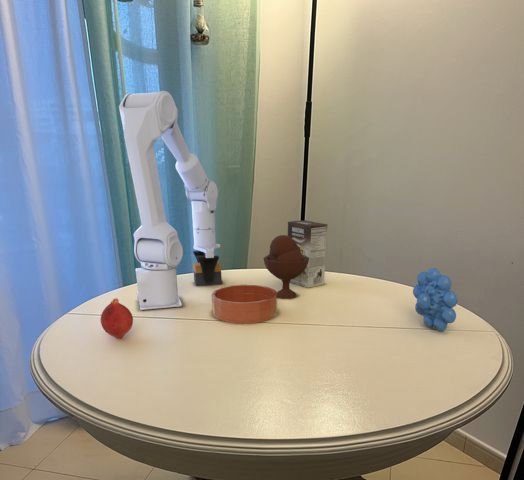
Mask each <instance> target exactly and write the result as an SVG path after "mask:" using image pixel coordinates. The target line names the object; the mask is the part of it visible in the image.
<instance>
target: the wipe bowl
mask: <svg viewBox="0 0 524 480" xmlns="http://www.w3.org/2000/svg"><path fill="white" fill-rule="evenodd" d="M277 292H278V291H276V290H275V289H274V288H272V287H269V286H265V285H264V286H263V285H258V284H234V285H228V286H223V287H220V288H219V287H218V288H217V289H215V290H213V291H212V293H211V307H212V309H211V310H212V315H213V317H214V318H215V319H217V320H218V321H221V322H226V323H230V324H242V325H243V324H256V323H262V322H266V321H269V320H271V319H273V318H275V317H276V316H277V314H278V298H277Z"/></svg>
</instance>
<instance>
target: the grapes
mask: <svg viewBox="0 0 524 480" xmlns="http://www.w3.org/2000/svg"><path fill="white" fill-rule="evenodd" d="M416 281H417V284H415V285H414V287H413V288H412V294H413V297H414V298H415V299H416V303H415V305H414V309H415V312H416V313H417V314H418V315H420V316H422V321H423V324H424V325H425V326H426V327H427V328H435V330H436V331H439V332H444V331H446V329H447V328H448V326H449V324H453V323H454V322H455V321H456V318H457V312H456V311H455V309H454V308H455V307H456V306H457V305H458V301H459V298H458V294H456V292H455V291H452V290H451V289H452V286H453V285H452V284H453V283H452V279H451V278H450V277H449V276H448V275H446V274H441V271H439V269H438V268H436V267H430V268H429V269H428V270H427V271H420V272H419V273H418V274H417V278H416Z"/></svg>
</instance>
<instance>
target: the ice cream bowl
mask: <svg viewBox="0 0 524 480" xmlns="http://www.w3.org/2000/svg"><path fill="white" fill-rule="evenodd" d="M308 262H309V257H307V256H305V255H302V254H301V250H300V248H299V246H298V245H297V244H296V242H295V241H294V240H293V239H292V238H291V237H290V236H288V234H280V235H277V236H275V237H274V238H273V239H272V240H271V242H270V245H269V252H268V255H266V256H264V257H263V263H264V266H265V268H266V270H267V271H268V272H269V273H270V274H271V275H273V277H275V278H277V279H278V280H281V282H282V285H281V286H282V287H281V289H279V290H278V291H276V292H277V299H282V300H283V299H284V300H286V299H288V300H289V299H295V298H296V297H297V296H298V295H297V292H295V291H293V290H292V289H291V288H290V283H291V282H290V280H291V279H294V278H296V277H297V276H299V275H300V274H301V273H302V272H303V271H304V270H305V269H306V267H307V265H308Z"/></svg>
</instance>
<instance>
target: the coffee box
mask: <svg viewBox="0 0 524 480" xmlns="http://www.w3.org/2000/svg"><path fill="white" fill-rule="evenodd" d="M328 227H329V225H328V224H327V223H322V222H317V221H311V220H290V221H288V222H287V236H290V237H291V238H292V239H293V240H294V241H295V242H296V244H297V245H298V246H299V248H300V250H301V254H302V255H305V256H307V257H309V262H308V265H307V267H306V269H305V270H304V271H303V272H302V273H301V274H300V275H299V276H297V277H296V278H294V279H291V280H290V283H292V284H295V285H298V286H301V287H305V288H312V287H318V286H323V285H325V284H324V283H325V274H326V273H325V272H326V271H325V270H326V258H327V257H326V255H327V242H328V241H327V240H328Z"/></svg>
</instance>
